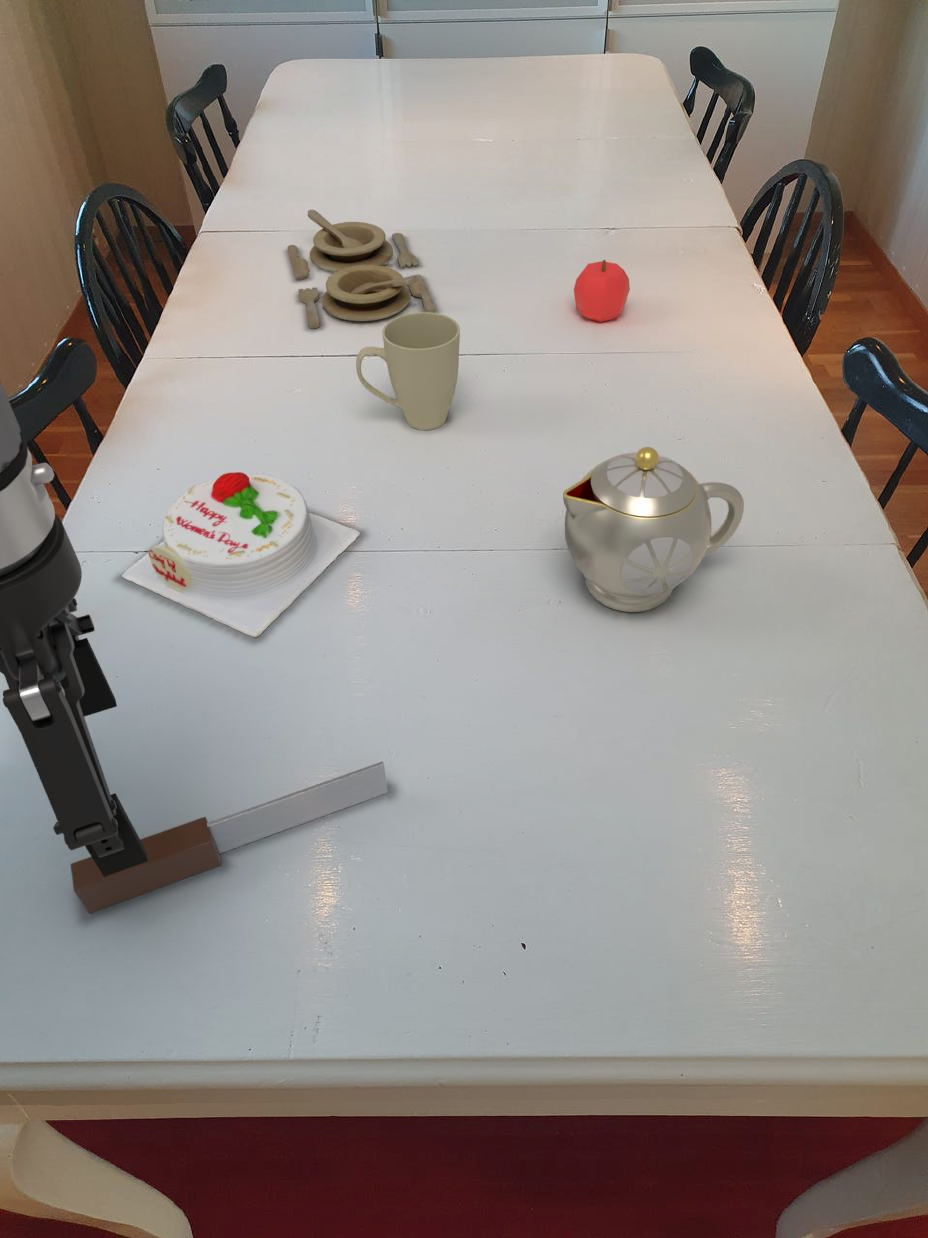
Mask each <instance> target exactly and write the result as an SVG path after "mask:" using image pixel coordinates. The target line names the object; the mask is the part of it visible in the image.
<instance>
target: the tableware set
mask: <svg viewBox="0 0 928 1238" xmlns="http://www.w3.org/2000/svg"><path fill="white" fill-rule="evenodd" d="M307 217H308V219H310V220H311V221H313V222H314V223H315V224H316V225H318V226H319V227H320V228H322V229H320V230H318V231H317V232H316V233H315V234H314V236H313V239H312V241H313V246H312V247H311V249H310V251H309V258H310V261H311V262H312V264H314V266H316V267H317V268H319V269H322V270H325V271H328V272H333V273H332V274H331V275H330V276H329V277H328V278H327V279H326V281H325V290H326V291H325V292H324V293H323V294H322V297H321V305H322V307H323V309H324V310H325V311H326V312H327V313H328V314H329V315H330V316H332V317H335V318H337V319H341V320H345V321H354V322H369V321H377V320H382V319H386V318H389V317H392V316H394V315H396V314H398V313H400V312H402V310H404V309H405V308H407V306H408V304H409V303H410V300H411V295H412V296H413V297H415V298H421V300H422V305H423V309H424V312H431V313H436V305H435V304H434V301H433V299H432V297H431V295H430V292H429V290H428V288H427V286H426V283H425V281H424V279H423V276H422V275H421V274H413V275H410V276H405V277H403V275H402V274H401V273H400V272H399V271H397V270H396V269H394V268H391V267H388V266H383V265H384V264H386V263H387V262H389V261H390V260H391V259H392V257H393V254H394V248H393V246H392V244H391V243H390V242H389V241H388V240H386V238H387V237H386V232H385V231H384V230H383V229H382V228H381V227H379V226H378V225H375V224H373V223H368V222H364V221H363V222H361V221H344V222H338V223H335V224H332V223H331V222H329V220H327V218H325V217H324V216H323V215H322V214H321V213H320V212H318V211H317V210H316V209H309V210H308V211H307ZM391 239H392V241H393V243H394V245H395V246H396V248H397V250H398V252H399V255H398V256H397V263H398V266H399V268H400V269H403V268H406V267H407V268H411V267H412V266H413V267H418V266H419V262H418V259H417V257H416V255H415V254H414V253H411V252H409V251H408V248H407V244H406V241H405V237H404V234H403V233H402V232H394V233H392V234H391ZM287 252H288V256H289V260H290V264H291V267H292V271H293V275H294V279H295V280H296V281H301V280H305V279H307V278H308V277H309V275H310V267H309V264H308V261H307V259H305V258H302V257H299V253H298V252H299V251H298V247H297V245H295V244H289V245H287ZM407 286H408V287H409V288H408V287H407ZM297 292H298V297H299V301H300V302H302V303H303V304H305V305H306V318H307V326H308V328H309V329H312V330H313V329H318V328H320V327H321V322H320V318H319V314H318V310H317V307H316V304H315V303H316V302H317V301H318V300H319V298H320V295H319V289H318V287H315V286H314V287H311V288H310V287H306V288H305V289H304V288H298V291H297Z"/></svg>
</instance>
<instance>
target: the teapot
mask: <svg viewBox="0 0 928 1238" xmlns="http://www.w3.org/2000/svg"><path fill="white" fill-rule="evenodd" d="M711 498H719V499H721V500H723V501H725V503H726V504H727V508H728V510H727V514H726V517H725V518H724V521H723V522H722V524H721V525H720V527H719V528H717V530H715V531H714V533H712V512H711V507H710V503H709V499H711ZM562 499H563V504H564V506H565V508H566V510H565V516H564V536H565V543H566V546H567V550H568V552H569V554H570V557H571V560H572V561H573V563H574V564H575V566H576V568H577V569H578V570H579V571H580V573H582V575H583V576H584V582H585V586H586V588H587V590H588V592H589V593H590V594H591V596H592V597H593V598H594V599H595V600H596V601H598V602H599V603H600V604H602V605H604V606H605V607H608V608H609V609H612V610H616V611H621V612H626V613H640V612H646V611H650V610H653V609H655V608H657V607H659V606H660V605H662V604H663V603H664V602H666V601H667V600H668V599H669V597H670V596H671V595H672V592H673V590H674V588H676V587H677V586H679V585H680V584H682V583H683V582H684V581H685V580H687V579H688V578H689V577H690V576H691V575H692V574H693V573H694V572H695V570H697V568H698V566H699V565H700V564H701V562H702V560H703V559H704V557H705V556H707V555H710V554H712V553H713V552H715V551H717V550H718V549H720V548H721V547H723V546H724V545H725V544H726V543H727V542H728V541H729V540H730V539H731V538H732V537H733V536H734V534H735V533H736V532H737V530H738V528H739V526H740V524H741V523H742V519H743V515H744V510H745V504H744V503H745V502H744V497H743V495H742V494H741V492H740V491H739V490H738V489H737V487H735V486H733V485H730V484H727V483H724V482H720V481H719V482H718V481H708V482H702V483H700V482H699V481H698V480H697V478H696V477H695V476H694V475H693V474H692V473H691V472H690V471H689V470H688V469H687V468H685V467H684V466H683V465H681V464H680V463H678V462H677V461H675V460H673V459H671V458H669V457H666V456H664V455H660V454H659V453H658V452H657V450H656V449H655V448H653V447H651V446H644V447H641V448H640V449H639V450H637V452H627V453H623V454H619V455H615V456H613V457H610V458H608V459H606V460H604V461H601V462H600V463H599V464H597V465H596V466H594V467H593V468H592V469H591V470H589V471H588V472H587V473H586V474H585V475H584V476H583V478H582V479H580V480H579V481H578V482H576V483H575V484H573V485H572V486H571V485H570V487H568V488H566V489H565V490H564V491H563V492H562Z"/></svg>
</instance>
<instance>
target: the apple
mask: <svg viewBox="0 0 928 1238" xmlns="http://www.w3.org/2000/svg"><path fill="white" fill-rule="evenodd" d="M630 290H631V286H630V278H629V276H628V275H627V273H626V271H625V269H623V268H622V267H621V266H620V265H619V264H618V263H615V262H610V261H606V259H603V260H601V261H595V262H590V263H587V264H586V266H585V267H584V268H583V270H582V271H581V272H580V273H579V275H578V276H577V278H576V280H575V283H574V286H573V295H574V302H575V303H574V304H575V309H576V310H577V311H578V312H579V313H580V314H581V315H582V316H583V317H584V318H586V319H588V320H590V321H593V322H598V323H604V322H607V321H610V320H613V319H615V318H618V317H619V316H620V315H621V313H622V312H623V310H624V309H625V305H626V302H627V299H628V297H629V293H630Z"/></svg>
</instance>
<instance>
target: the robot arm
mask: <svg viewBox="0 0 928 1238" xmlns="http://www.w3.org/2000/svg"><path fill="white" fill-rule="evenodd" d="M54 477H55V473H54V470H53V467H52V466H50V464H49V463H47V462H41V463H36V464H33V457H32V454H31V452H30V450H29V448H28V443H27V441H26V439H25V436H24V435H23V432H22V429H21V426H20V424H19V422H18V419H17V417H16V415H15V413H14V411H13V408H12V405H11V403H10V401H9V398H8V396H7V394H6V391H5V389H4V387H3V383H2V382H1V381H0V673H1V674H3V676H4V678H5V681H6V684H7V687H8V688H7V689H4V690H3V691H2V696H3V697H2V703H3V705H4V707H5V708H7V711H8V712H9V714H10V717H11V718H12V720H13V721H14V724H15V725H16V727H17V729H18V731H19V733H20V735H21V737H22V739H23V742H24V744H25V747H26V749H27V751H28V754H29V756H30V758H31V761H32V763H33V766H34V768H35V770H36V772H37V775H38V778H39V780H40V783H41V785H42V787H43V789H44V792H45V794H46V796H47V800H48V801H49V803H50V806H51V808H52V811H53V813H54V815H55V818H56V820H57V821H56V822H55V824H54V825H53V827H52V829H53V831H54V833H55V835H56V836H59V835H62V836H63V840H64V841H63V842H64V843H65V845H66V846H67V848H68V849H69V850H70V851H74V850H78V849H80V848H83V847H85V849H86V850H87V852H88V853H89V855H90V857H92V858H93V860H94V862H95V863H96V865H97V866H98V868H99V870H100V871H101V873H102V875H103V876H104V877H106V876H109V875H111V874H114V873H117V872H120V871H122V870H125V869H128V868H131V867H133V866H136V865H139V864H142V863H144V862H147V861H148V857H147V852H146V850H145V848H144V846H143V844H142V842H141V840H140V839H141V837H139V835H138V833H137V831H136V829H135V827H134V825H133V824H132V822H131V820H130V817H129V816H128V814H127V812H126V810H125V808H124V806H123V804H122V803H121V801H120V798H119V797H118V795H117V794H116V792H114V793H111V791H110V788H109V785H108V782H107V780H106V777H105V774H104V770H103V768H102V765H101V762H100V759H99V757H98V756H99V755H98V753H97V751H96V747H95V745H94V741H93V738H92V736H91V733H90V730H89V727H88V724H87V722H86V718H85V717H87V716H91V715H94V714H97V713H101V712H104V711H107V710H110V709H115V708H116V707H118V704H117V700H116V697H115V695H114V693H113V690H112V689H111V686H110V684H109V682H108V680H107V677H106V675H105V673H104V671H103V669H102V667H101V665H100V663H99V661H98V659H97V656H96V654H95V652H94V649H93V648H92V646H91V643H90V640H89V639H88V637H85V638H81V639H80V636H84V635H87V634H90V633H93V632H95V631H96V630H95V626H94V622H93V619H92V617H91V615H90V614H85V615H82V616H78V617H77V616H76V615H75V614H73V613H74V612H77V611H78V608H77V606H78V602H77V599H76V598H75V597H76V596H77V594H78V591H79V589H80V587H81V583H82V577H83V573H82V566H81V563H80V561H79V560H80V559H79V558H78V556H77V554H76V551H75V548H74V546H73V544H72V542H71V540H70V537H69V535H68V533H67V530H66V528H65V526H64V524H63V521H62V520H61V518H60V517H59V516H58V515H57V514H56V512H55V506H54V504H53V502H52V499H51V497H50V495H49V493H48V491H47V490H48V489H47V488H46V485H45V484H47V483H50V482H52V481H53V480H54Z"/></svg>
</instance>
